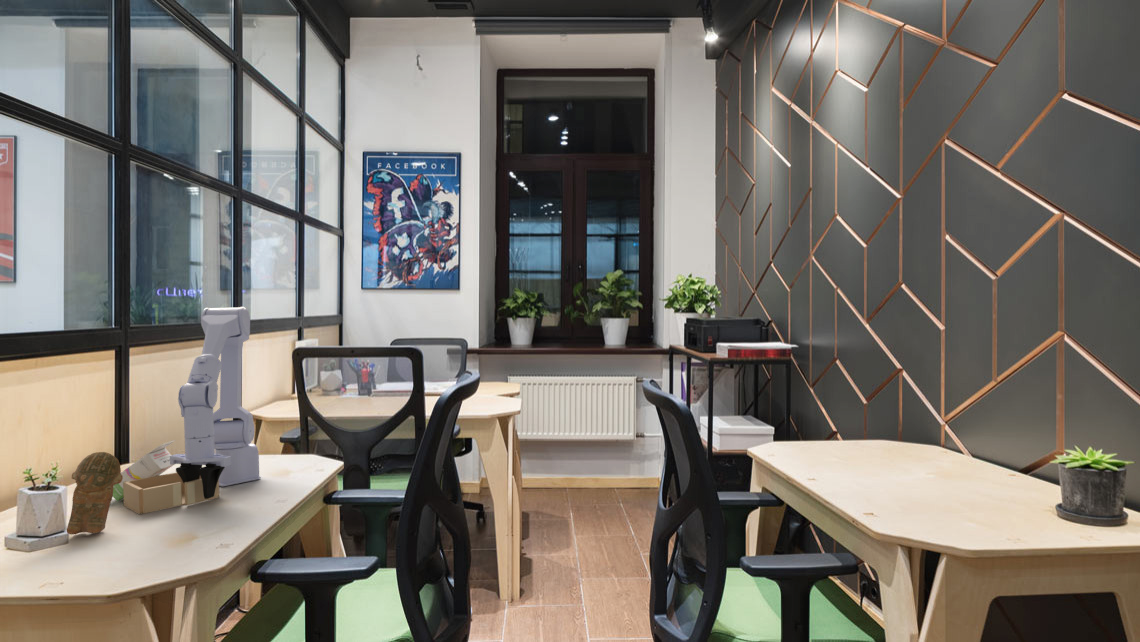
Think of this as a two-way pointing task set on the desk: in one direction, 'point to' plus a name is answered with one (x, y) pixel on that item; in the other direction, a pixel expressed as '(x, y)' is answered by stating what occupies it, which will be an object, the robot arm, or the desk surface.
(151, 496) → the flap
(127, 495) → the carton
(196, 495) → the flap
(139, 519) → the desk surface
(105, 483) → the figurine
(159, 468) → the ink box
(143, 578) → the desk surface
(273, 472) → the desk surface
